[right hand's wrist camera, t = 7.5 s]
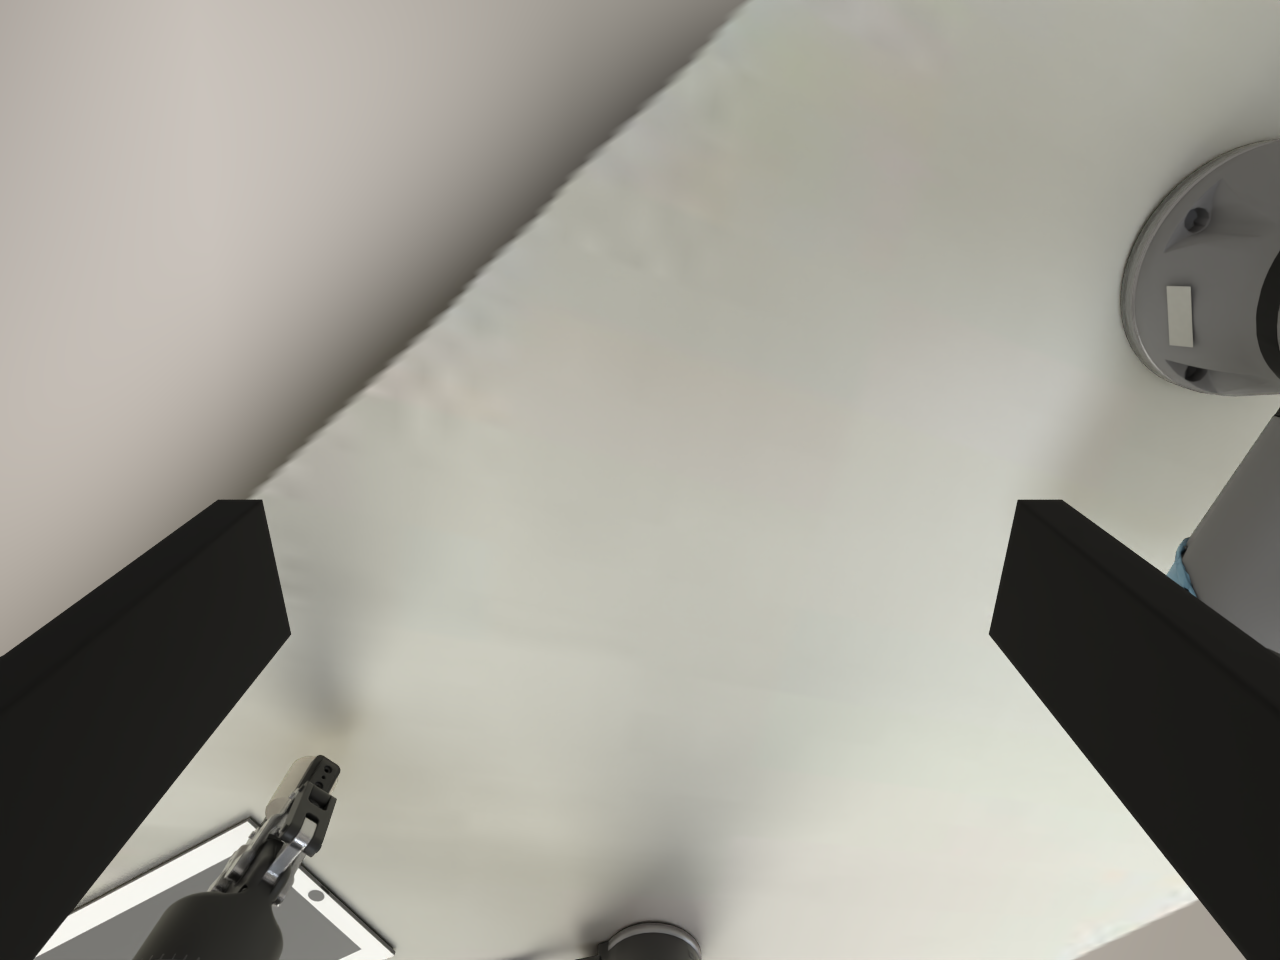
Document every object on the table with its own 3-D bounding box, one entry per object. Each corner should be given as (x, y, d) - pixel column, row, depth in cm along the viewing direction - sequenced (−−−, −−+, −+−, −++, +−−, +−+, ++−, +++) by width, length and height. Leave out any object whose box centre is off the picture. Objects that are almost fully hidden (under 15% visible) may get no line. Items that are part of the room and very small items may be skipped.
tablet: (156, 1060, 75) (154, 1064, 75) (0, 947, 68) (-3, 952, 68) (395, 951, 69) (394, 955, 68) (248, 816, 62) (246, 820, 62)
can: (286, 756, 56) (259, 798, 52) (333, 754, 56) (309, 796, 52) (296, 793, 57) (271, 836, 53) (342, 791, 57) (320, 834, 53)
